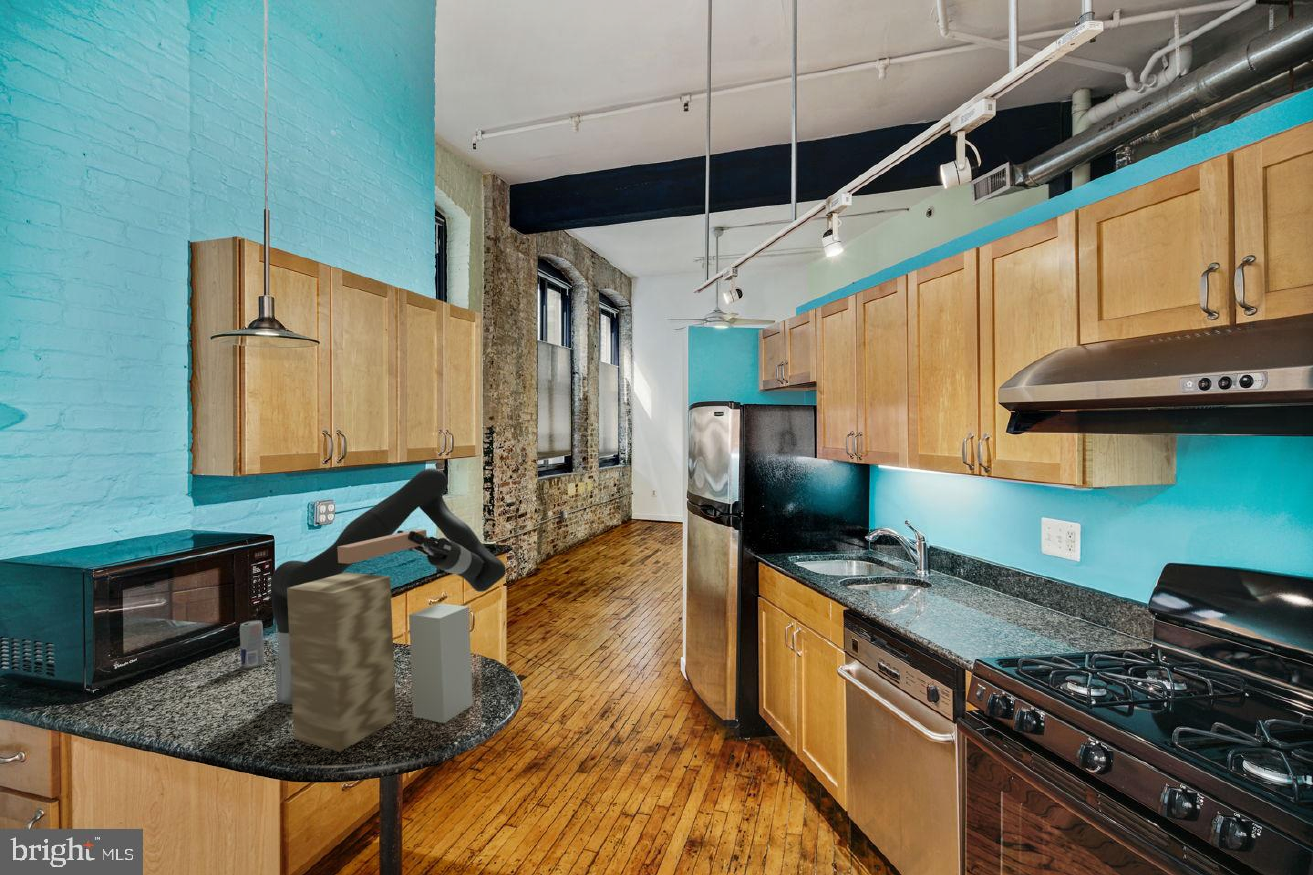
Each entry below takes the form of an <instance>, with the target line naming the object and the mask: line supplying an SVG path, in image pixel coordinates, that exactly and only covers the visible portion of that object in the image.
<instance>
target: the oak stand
mask: <svg viewBox="0 0 1313 875" xmlns="http://www.w3.org/2000/svg"><path fill="white" fill-rule="evenodd" d="M391 588H392V587H391V576H390V575H388V576H387V575H377V574H368V573H367V574H366V573H355V572H342V573H341V574H339V575H335V576H331V577H327V578H324V579H320V580H316V581H312V582H308V583H305V584H301V585H297V586H293V587H290V588H287V599H288V621H289V642H290V664H291V685H292V723H293V724H292V726H293V740H294V739H295V741H297V740H299V741H298V742H301V741H302V742H301V743H305V742H306V743H305V744H309V745H312V744H313V746H316V745H317V746H316V747H320V748H325V749H328V750H332V751H334V752H339V753H341V752H343V751H344V749H345V750H346V749H348V748H350V747H352V746H353V745H355V744H358V743H359V742H361V741H362V740H364V739H366V738H367V737H369V736H371V735H372V734H375V733H376V732H378V731H379V729H380V730H382V729H383V728H385V727H387V726H388V725H391V724H392V723H394V722H395V721H397V703H396V701H397V699H396V698H397V696H396V680H395V679H396V678H395V659H394V658H395V657H394V655H395V654H394V637H393V636H394V633H393V631H394V630H393V612H392V607H393V606H392V589H391ZM393 721H394V722H393ZM387 724H388V725H387ZM386 725H387V726H386ZM384 726H385V727H384ZM382 727H383V728H382ZM377 730H378V731H377ZM365 737H366V738H365ZM351 745H352V746H351ZM349 746H350V747H349Z"/></svg>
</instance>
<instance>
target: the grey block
mask: <svg viewBox="0 0 1313 875" xmlns="http://www.w3.org/2000/svg"><path fill="white" fill-rule="evenodd" d="M469 612H470V611H469V606H466V605H457V604H448V603H436V604H433V605H431V606H428V607H425V608H423V609H421V610H417V611H414V612H411V613H410V614H409V615H408V621H409V623H408V624H409V646H410V647H409V648H410V669H411V670H410V671H411V686H412V687H411V690H412V692H411V693H412V708H413V709H412V711H413V712H412V714H413V717H414V718H418V719H422V718H423V720H427V719H429V720H428V721H431V720H432V722H437V723H442V724H445V723H448V722H449V721H451V720H452V719H453V718H456V716H458V715H459V714H461V713H463V712H465V711H466V710H468V709H469V708H470V707H473V705H474V702H473V700H474V699H473V679H472V659H471V658H472V657H471V634H470V633H471V632H470V630H471V629H470V615H469V614H470V613H469Z"/></svg>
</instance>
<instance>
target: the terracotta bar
mask: <svg viewBox="0 0 1313 875" xmlns="http://www.w3.org/2000/svg"><path fill="white" fill-rule="evenodd" d="M410 531H414V532H416V533H418V534H420V535H422V536H425V535H426V536H427V537H428V535H427V534H428V533H427V529H411V530H407V531H403V532H402V533H397V532H396V533H393V534H392V535H388V536H384V537H379V538H375V539H370V540H366V541H361V542H357V543H352V544H348V545H343V546H339V547H337V548H338V563H347V564H350V563H353V564H355V563H358V562H362V561H365V560H369V559H374V558H377V557H378V558H379V557H382V556H384V555H390V554H393V553H396V552H400V551H405V550H408V549H409V548H413V547H416V546H420V544H417V543H414V542H412V541H410V540H408V536H409V533H410ZM354 562H355V563H354Z"/></svg>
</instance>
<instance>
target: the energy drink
mask: <svg viewBox="0 0 1313 875" xmlns="http://www.w3.org/2000/svg"><path fill="white" fill-rule="evenodd" d="M263 630H264V629H263V622H262V620H259V619H254V620H249V621H246V622H243V623H241V624H240V626H239V640H240V641H239V642H240V662H241V665H240V667H241V668H243V669H254V668H257V667H259V666H262V665H264V663H265V654H264V652H265V649H264V632H263Z"/></svg>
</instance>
